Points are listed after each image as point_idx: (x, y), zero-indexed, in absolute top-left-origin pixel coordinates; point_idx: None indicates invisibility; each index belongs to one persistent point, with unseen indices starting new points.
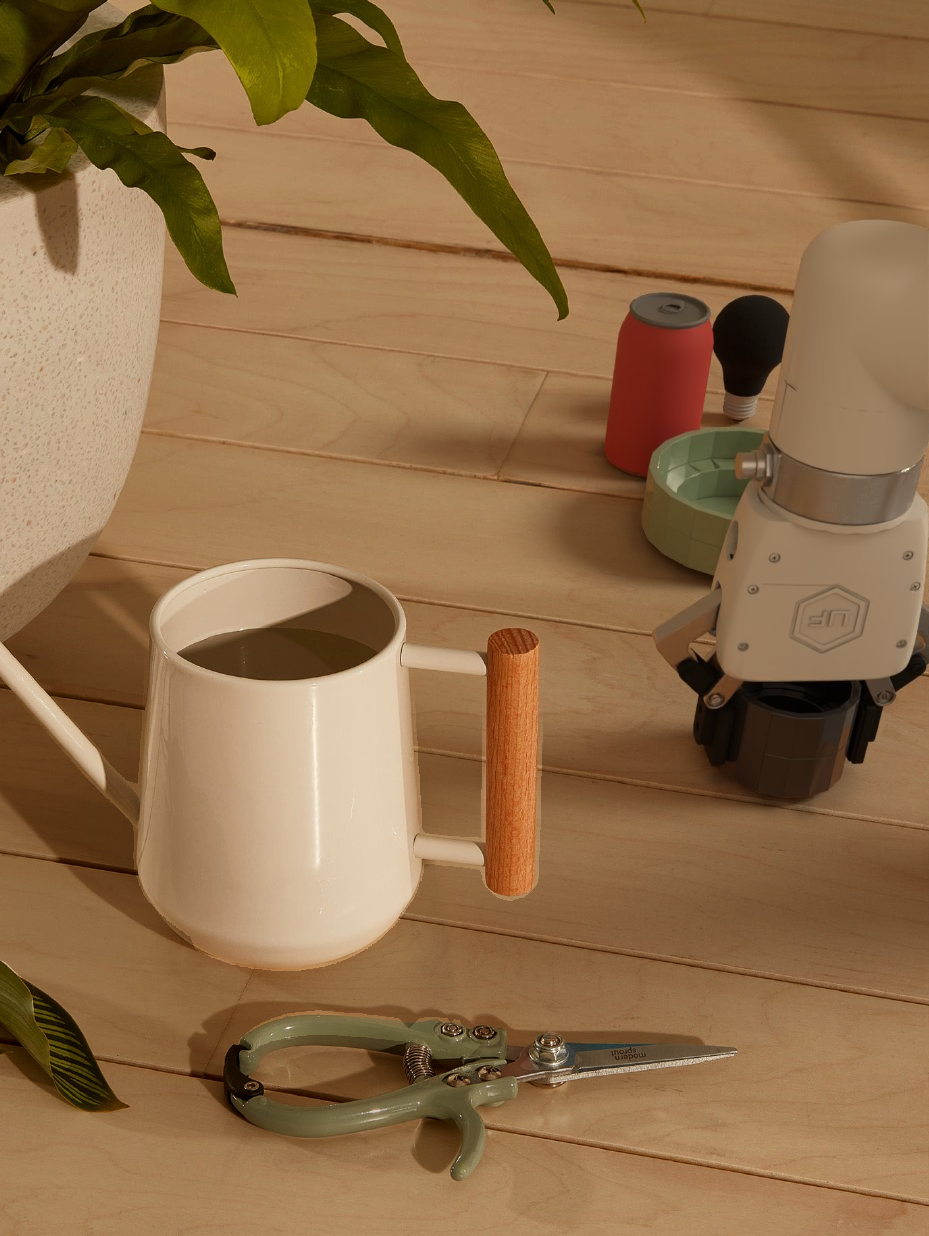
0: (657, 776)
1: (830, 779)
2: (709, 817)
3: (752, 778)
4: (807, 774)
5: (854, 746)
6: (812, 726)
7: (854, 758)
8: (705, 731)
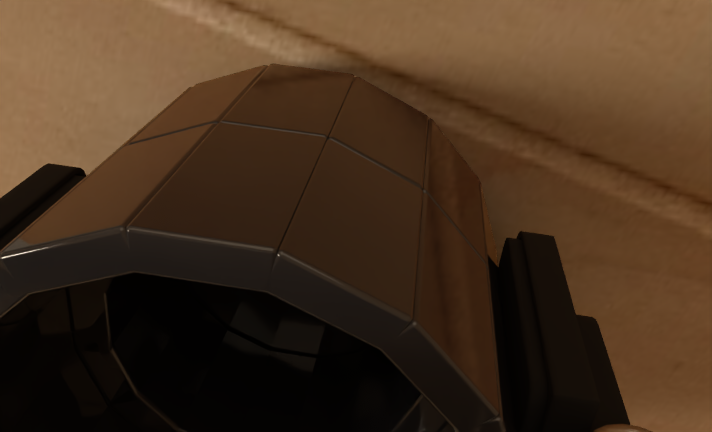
0: (682, 258)
1: (174, 101)
2: (621, 44)
3: (443, 150)
4: (260, 97)
5: (53, 202)
6: (207, 207)
7: (70, 177)
8: (591, 350)
